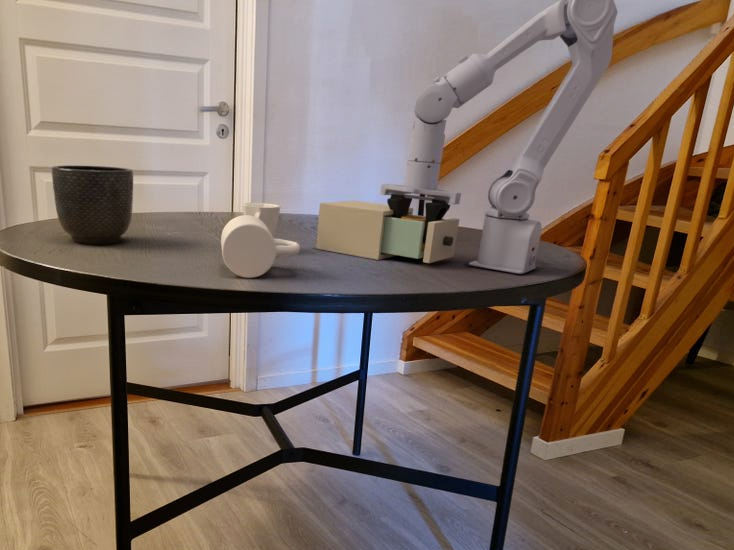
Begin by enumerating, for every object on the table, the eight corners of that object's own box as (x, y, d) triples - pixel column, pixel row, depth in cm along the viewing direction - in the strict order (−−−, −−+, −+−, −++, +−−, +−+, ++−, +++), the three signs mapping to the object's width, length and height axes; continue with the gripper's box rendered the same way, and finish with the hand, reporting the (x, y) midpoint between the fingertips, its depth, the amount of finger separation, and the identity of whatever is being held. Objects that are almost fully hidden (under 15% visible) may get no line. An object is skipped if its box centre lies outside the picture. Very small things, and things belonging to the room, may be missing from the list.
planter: (143, 237, 120) (142, 168, 115) (121, 250, 107) (118, 172, 102) (74, 233, 121) (70, 164, 116) (43, 244, 107) (37, 167, 103)
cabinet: (407, 253, 119) (413, 207, 116) (378, 260, 111) (383, 211, 108) (348, 243, 127) (352, 200, 124) (316, 248, 118) (319, 203, 116)
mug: (221, 277, 91) (222, 222, 88) (220, 263, 100) (221, 213, 97) (301, 280, 92) (305, 225, 89) (293, 266, 101) (296, 217, 98)
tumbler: (431, 249, 112) (436, 218, 111) (418, 252, 108) (423, 220, 107) (405, 244, 115) (409, 214, 114) (392, 247, 111) (396, 216, 110)
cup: (279, 247, 118) (282, 204, 115) (273, 256, 108) (276, 210, 105) (243, 244, 118) (245, 201, 115) (234, 253, 109) (236, 207, 106)
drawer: (460, 257, 112) (466, 219, 110) (435, 264, 105) (441, 224, 102) (393, 246, 120) (397, 211, 118) (366, 252, 113) (370, 214, 110)
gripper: (376, 157, 108) (366, 235, 113) (454, 165, 100) (440, 249, 104) (395, 158, 113) (384, 233, 118) (470, 166, 105) (456, 245, 110)
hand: (411, 240), depth 112 cm, fingers closed on tumbler, 5 cm apart
